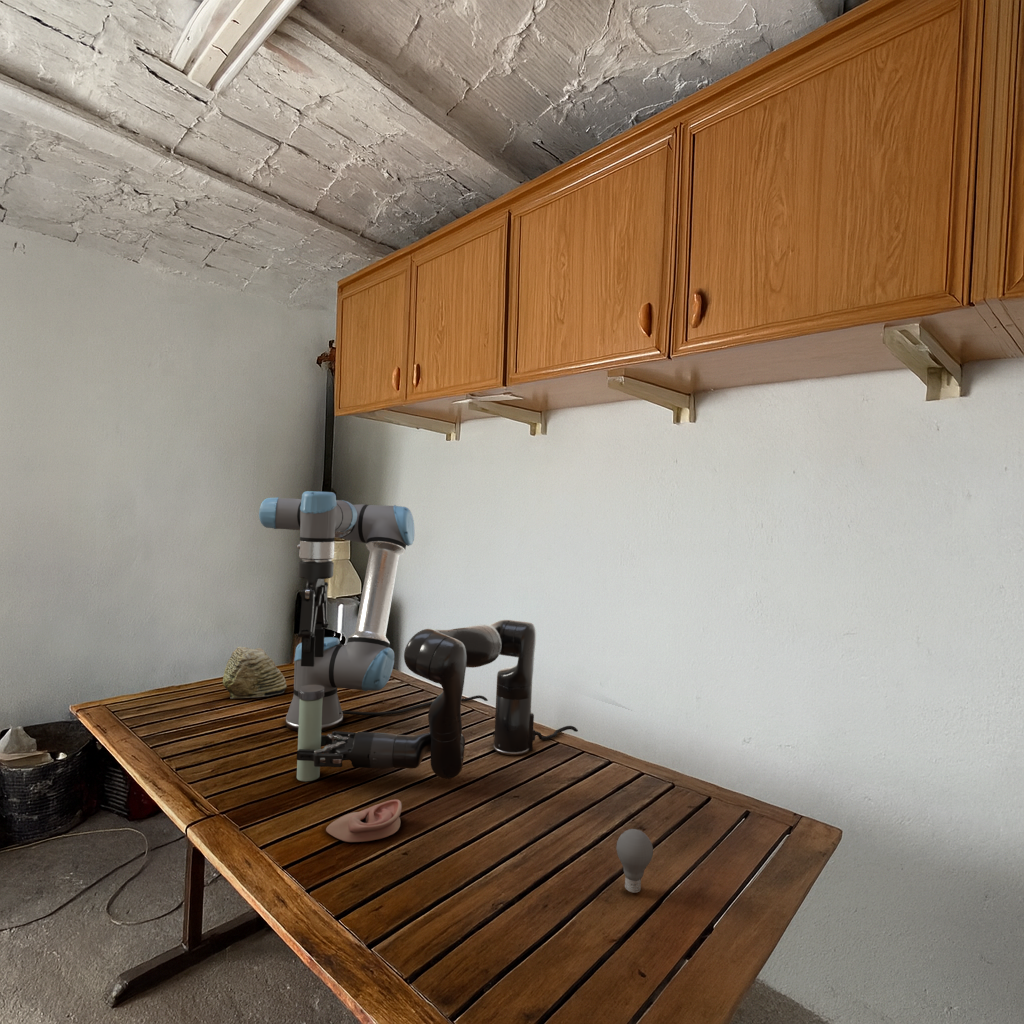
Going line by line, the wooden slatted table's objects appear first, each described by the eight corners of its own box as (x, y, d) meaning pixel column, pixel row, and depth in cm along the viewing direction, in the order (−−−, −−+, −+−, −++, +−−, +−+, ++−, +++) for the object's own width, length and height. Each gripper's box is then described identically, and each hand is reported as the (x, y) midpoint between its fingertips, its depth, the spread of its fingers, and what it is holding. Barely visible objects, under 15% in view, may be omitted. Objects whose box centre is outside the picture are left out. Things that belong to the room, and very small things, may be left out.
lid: (328, 697, 142) (328, 689, 142) (303, 702, 139) (304, 693, 139) (318, 691, 147) (318, 683, 147) (294, 695, 143) (294, 687, 143)
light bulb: (610, 879, 108) (613, 822, 108) (644, 879, 109) (647, 822, 109) (619, 902, 102) (622, 840, 102) (655, 901, 103) (658, 840, 103)
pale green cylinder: (323, 777, 143) (326, 691, 142) (301, 783, 140) (305, 694, 139) (314, 770, 147) (317, 685, 146) (293, 775, 143) (296, 689, 143)
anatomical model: (318, 816, 117) (346, 789, 129) (317, 837, 118) (346, 808, 129) (385, 827, 115) (408, 798, 126) (384, 848, 115) (407, 818, 126)
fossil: (218, 695, 195) (220, 647, 195) (278, 685, 208) (279, 640, 207) (228, 703, 189) (230, 653, 188) (289, 692, 201) (290, 645, 201)
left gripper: (311, 555, 152) (307, 649, 153) (285, 564, 132) (281, 673, 132) (343, 556, 152) (339, 650, 153) (322, 565, 132) (317, 674, 133)
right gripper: (382, 722, 150) (314, 719, 150) (368, 746, 135) (293, 742, 135) (381, 754, 150) (313, 750, 150) (367, 780, 136) (291, 777, 136)
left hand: (312, 661), depth 143 cm, fingers open, 7 cm apart
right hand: (303, 747), depth 143 cm, fingers open, 8 cm apart
